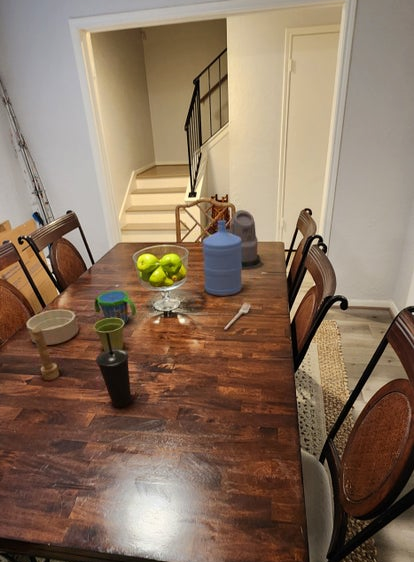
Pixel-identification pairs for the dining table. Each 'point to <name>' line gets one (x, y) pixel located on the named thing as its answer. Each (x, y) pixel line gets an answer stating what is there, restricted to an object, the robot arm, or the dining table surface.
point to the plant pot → (110, 332)
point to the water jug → (222, 262)
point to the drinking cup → (115, 374)
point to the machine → (246, 238)
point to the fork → (239, 314)
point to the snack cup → (115, 305)
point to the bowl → (54, 326)
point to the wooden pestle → (45, 356)
